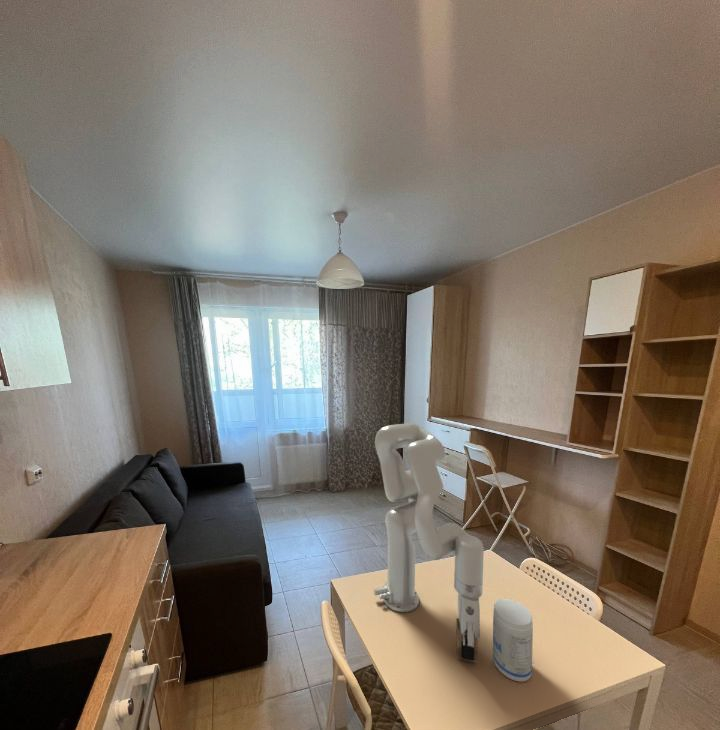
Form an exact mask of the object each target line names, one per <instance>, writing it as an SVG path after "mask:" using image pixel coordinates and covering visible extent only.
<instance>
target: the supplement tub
mask: <svg viewBox="0 0 720 730" xmlns="http://www.w3.org/2000/svg"><path fill="white" fill-rule="evenodd" d="M492 614H493V615H492V617H493V619H492V620H493V621H492V660H493V662H494V664H495V666H496V668H497V669H498V671H499V672H500V673H501V674H502V675H504V676H505V677H506V678H508V679H509V680H512V681H515V682H520V683H521V682H526V681H528V680H530V679H531V677H532V676H533V675H532V674H533V642H534V641H533V638H534V637H533V627H534V626H533V616H532V614H531V611H530V610H529V609H528V608H527V607H526V606H524V605H523V604H522V603H520V602H518V601H516V600H512V599H508V598H500V599H497V600H496V601H495V602H494V605H493V613H492Z"/></svg>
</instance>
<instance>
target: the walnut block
mask: <svg viewBox="0 0 720 730" xmlns="http://www.w3.org/2000/svg"><path fill="white" fill-rule="evenodd" d="M455 626H456V627H455V631H456V632H455V648H456V655H457V656H456V657H457V659H459V660H463V661H467V662H472V663H476V664H477V663H478V639H479V638H475V635H474V660H473V661H471V660H467V659H462V658H461V642H463V634H462V633H461V630H460V622H459V617H457V618H456V624H455ZM465 631H467V629H466V630H465ZM465 639H467V635H465Z"/></svg>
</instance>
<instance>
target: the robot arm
mask: <svg viewBox="0 0 720 730" xmlns="http://www.w3.org/2000/svg"><path fill="white" fill-rule="evenodd" d="M374 447H375V452H376V454H377V456H378V460H379V463H380V470H381V475H382V476H381V477H382V481H383V488H384V493H385V496H386V499H387V500H388V501H390V502H392V503H398V502H403V501H406V500H408V502H407V503H403V504H400V505H396V506H393V507H392V508H391V509H389V510H388V511H387V512H386V515H385V520H384V522H385V528H386V532H387V534H386V535H387V576H386V577H387V578H386V579H387V581H385V582H384V585H383V586H382V587H377V588H373V595H374V596H379V599H380V600H382V601H383V603H384V604H385V606H386V607H388V608H389V609H391V610H392V611H394V612H399V613H408V612H412V611H414V610H415V609H416V608H418V606H419V604H420V595H419V593H418V592H417V591H416V587H415V586H416V546H415V543H414V541H413V539H412V537H411V536H412V535H413V534H414V533H417V537H418V541H419V544H420V546H421V548H422V550H423V552H424V553H425V555H426V556H427V557H428V558H429V559H431V560H434V561H440V560H441V559H444V558H446V557H448V556H451V555H454V574H453V577H454V579H453V587H454V590H455V591H456V593H457V613H458V614H457V615H458V618H459V622H460V630H461V633H462V634H463V642H461V658H462V659H461V660H463V659H467V660H471V661H473V660H474V635H475V638H478V639H480V637H481V635H480V634H481V631H480V630H481V629H480V627H481V624H480V623H481V619H480V618H481V616H480V611H481V610H480V598H481V597H482V595H483V587H484V585H483V584H484V582H483V581H484V578H483V577H484V553H485V549H484V548H485V547H484V544H483V542H482V540H480V539H479V537H476V536H474V535H470V534H469V533H467V532H466V531H465V530H464V529H463V528H462V527H461V526H460V525H457V524H456V523H453V522H448V523H445V524H443V525H440V526H438V527H436V526H435V524H434V523H435V522H434V519H433V512H434V506H435V504H436V501H437V499H438V497H440V494H441V493H442V492H443V489H444V483H443V480H442V477H441V474H440V471H439V469H438V465H437V464H439V463H441V462H442V461H444V459H445V455H446V450H445V447H444V444H443V443H442V442H441V441H440V440H439V439H438V438H437V437H436V436H435V435H433V434H432V433H431V432H429V431H427V430H426V429H425V428H423V427H422V426H420V425H419V424H416V423H414V422H413V423H412V422H409V423H398V424H397V423H396V424H390V425H385V426H383V427H381V428H380V429H379V430H378V431H377V432H376V435H375V438H374ZM402 448H405V456H406V459H407V462H408V466H409V469H408V470H406V468H405V463H404V460H403V457H402V456H401V454H400V453H399V452H398V451H397V449H402ZM466 629H467V631H465V630H466ZM465 635H467V639H465ZM467 660H466V661H467ZM471 661H470V662H471Z"/></svg>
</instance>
